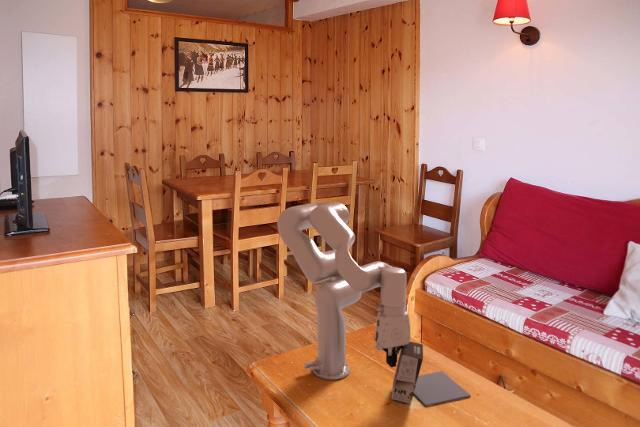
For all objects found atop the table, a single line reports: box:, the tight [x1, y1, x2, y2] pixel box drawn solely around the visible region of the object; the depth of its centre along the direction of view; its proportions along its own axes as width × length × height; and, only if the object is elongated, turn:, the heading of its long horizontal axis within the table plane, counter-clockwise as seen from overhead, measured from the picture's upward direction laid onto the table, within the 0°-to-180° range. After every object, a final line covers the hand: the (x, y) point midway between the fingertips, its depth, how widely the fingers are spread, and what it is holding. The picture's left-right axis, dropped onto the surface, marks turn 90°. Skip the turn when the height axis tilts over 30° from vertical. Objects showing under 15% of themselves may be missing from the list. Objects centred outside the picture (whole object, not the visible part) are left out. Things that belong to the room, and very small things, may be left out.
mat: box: [413, 370, 471, 407], centre depth 170 cm, size 16×16×1 cm
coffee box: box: [390, 341, 424, 405], centre depth 163 cm, size 9×6×16 cm
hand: (391, 364), depth 162 cm, fingers closed
